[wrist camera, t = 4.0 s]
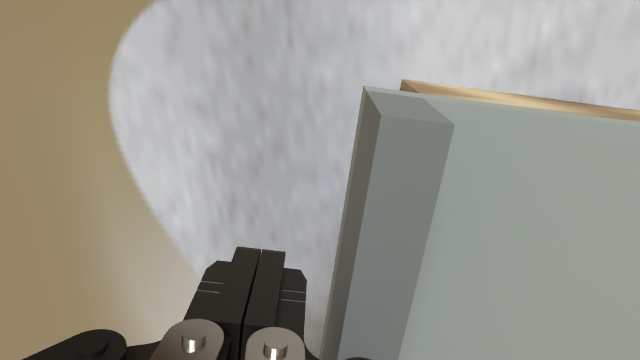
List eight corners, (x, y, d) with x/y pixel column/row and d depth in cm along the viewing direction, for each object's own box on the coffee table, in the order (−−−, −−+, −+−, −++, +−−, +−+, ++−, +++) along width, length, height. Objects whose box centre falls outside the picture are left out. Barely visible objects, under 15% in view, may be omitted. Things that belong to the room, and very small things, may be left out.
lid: (834, 147, 13) (1028, 198, 9) (668, 442, 17) (760, 553, 14) (363, 85, 12) (381, 115, 9) (311, 407, 16) (308, 515, 13)
